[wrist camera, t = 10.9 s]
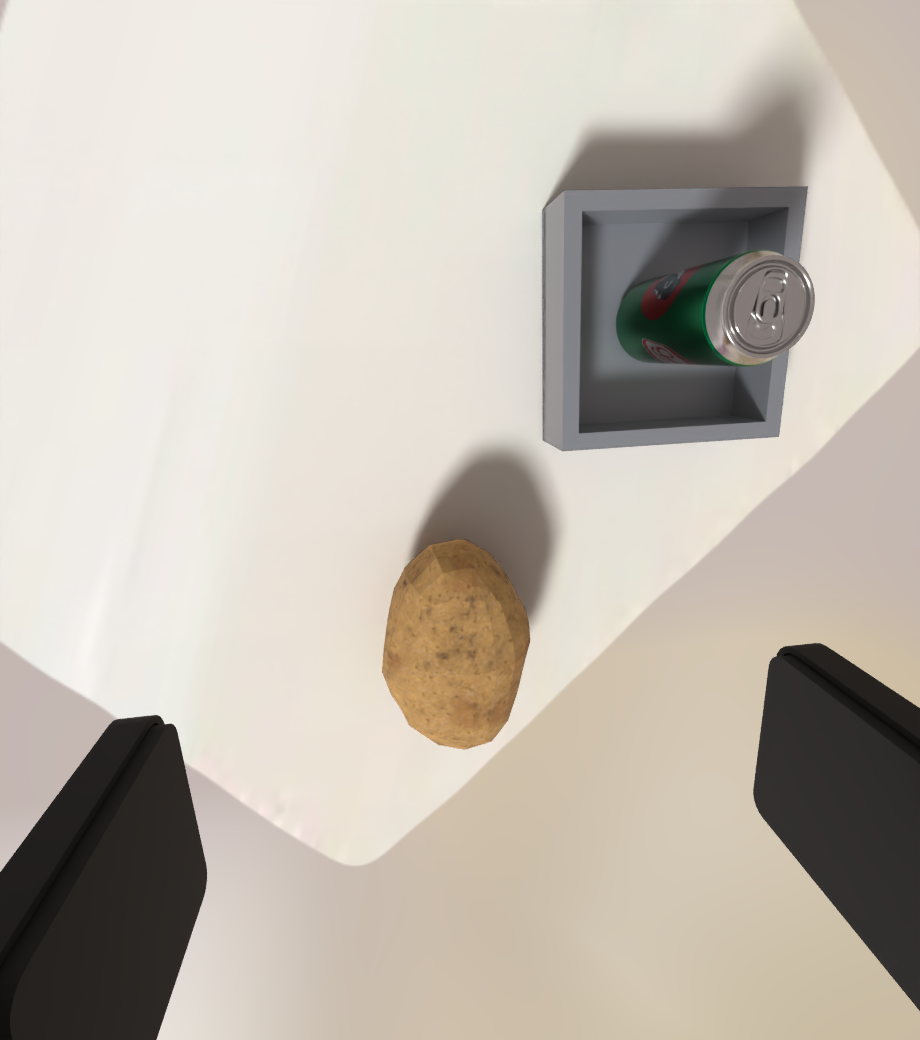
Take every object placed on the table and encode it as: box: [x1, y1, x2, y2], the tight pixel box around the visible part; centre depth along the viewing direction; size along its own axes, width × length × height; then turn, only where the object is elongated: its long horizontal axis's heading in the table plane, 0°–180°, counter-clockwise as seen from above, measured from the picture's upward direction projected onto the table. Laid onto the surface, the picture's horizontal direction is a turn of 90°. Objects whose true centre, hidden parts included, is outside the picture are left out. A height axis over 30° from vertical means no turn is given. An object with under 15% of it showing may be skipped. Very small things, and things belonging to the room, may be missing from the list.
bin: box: [542, 186, 808, 451], centre depth 35 cm, size 14×14×4 cm
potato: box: [382, 539, 530, 749], centre depth 38 cm, size 10×14×8 cm
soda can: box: [616, 250, 815, 367], centre depth 31 cm, size 5×5×12 cm
